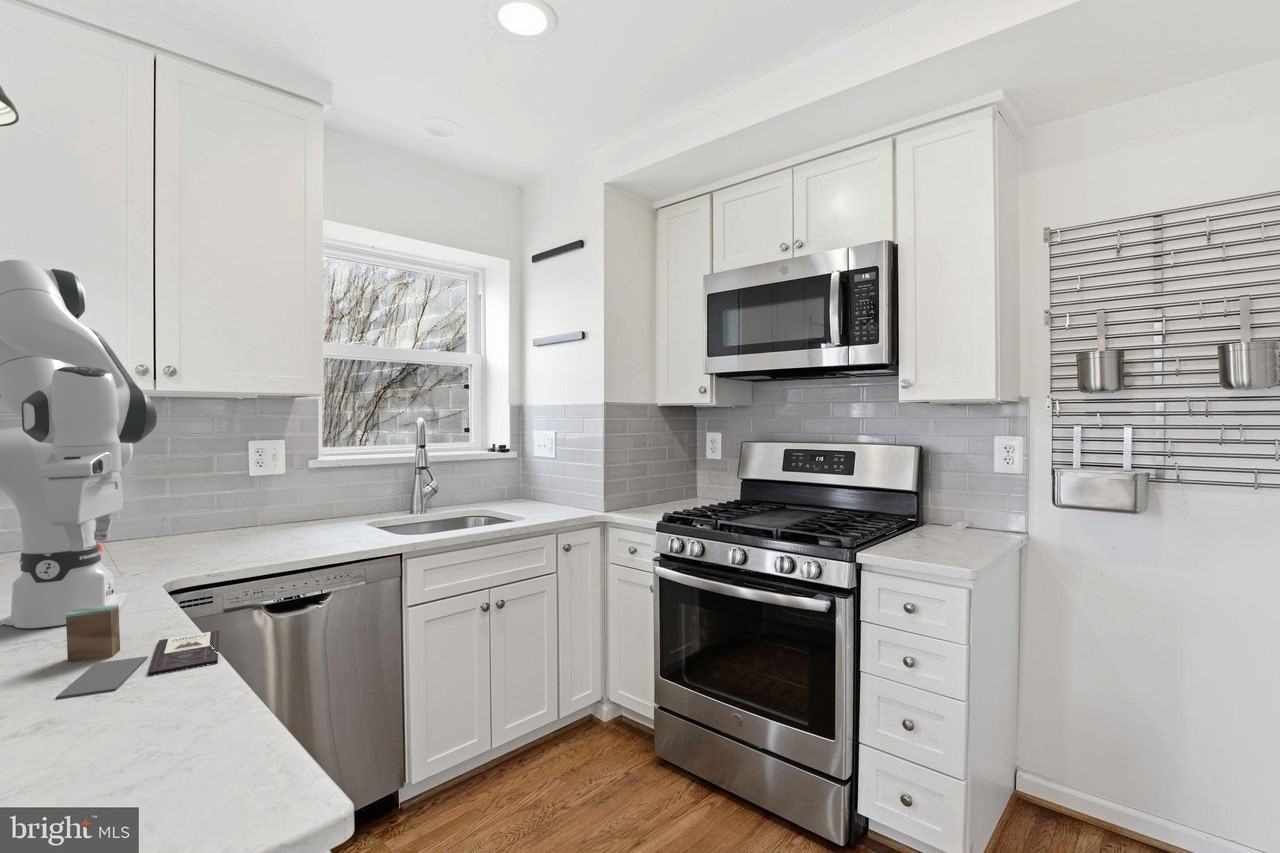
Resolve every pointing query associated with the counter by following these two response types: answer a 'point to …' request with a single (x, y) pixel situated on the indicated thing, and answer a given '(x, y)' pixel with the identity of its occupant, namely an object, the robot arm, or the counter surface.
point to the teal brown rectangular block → (93, 633)
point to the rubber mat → (103, 677)
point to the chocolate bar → (185, 652)
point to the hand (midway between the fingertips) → (90, 545)
